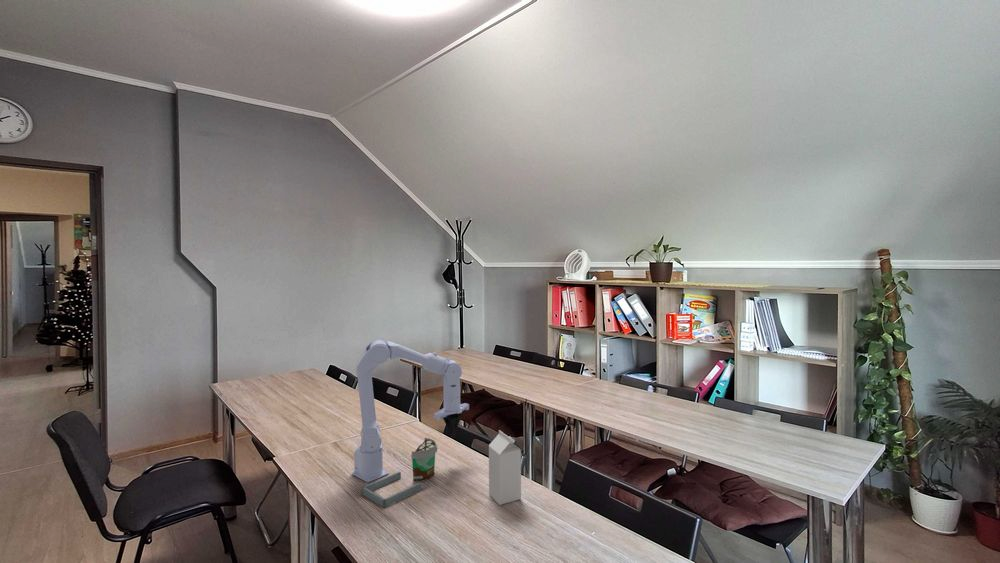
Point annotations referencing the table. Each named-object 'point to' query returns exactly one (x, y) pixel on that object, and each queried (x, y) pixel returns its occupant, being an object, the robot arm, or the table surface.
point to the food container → (424, 460)
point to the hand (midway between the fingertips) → (452, 435)
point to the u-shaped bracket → (394, 498)
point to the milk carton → (504, 469)
